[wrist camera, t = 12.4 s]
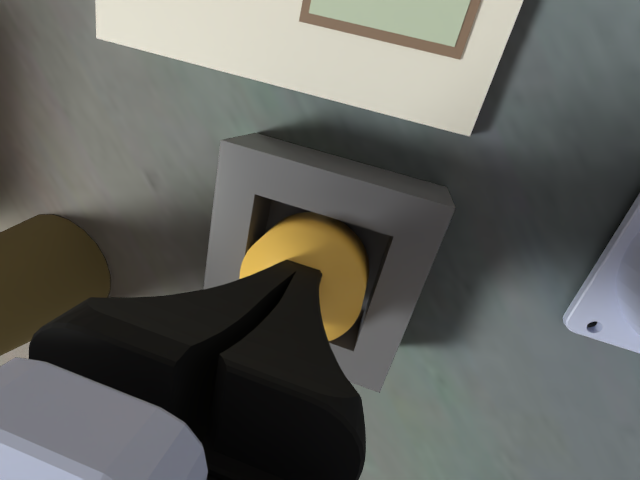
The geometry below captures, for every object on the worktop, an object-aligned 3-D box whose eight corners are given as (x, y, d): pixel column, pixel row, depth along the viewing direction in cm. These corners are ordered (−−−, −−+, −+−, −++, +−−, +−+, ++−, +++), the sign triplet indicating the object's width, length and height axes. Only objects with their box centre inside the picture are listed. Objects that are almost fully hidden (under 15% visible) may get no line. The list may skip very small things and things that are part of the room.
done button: (384, 232, 13) (379, 254, 11) (352, 328, 15) (343, 360, 13) (271, 198, 13) (249, 212, 12) (253, 294, 15) (232, 320, 13)
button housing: (446, 186, 14) (455, 208, 11) (384, 346, 17) (379, 392, 14) (255, 133, 15) (220, 140, 12) (231, 292, 18) (198, 326, 15)
